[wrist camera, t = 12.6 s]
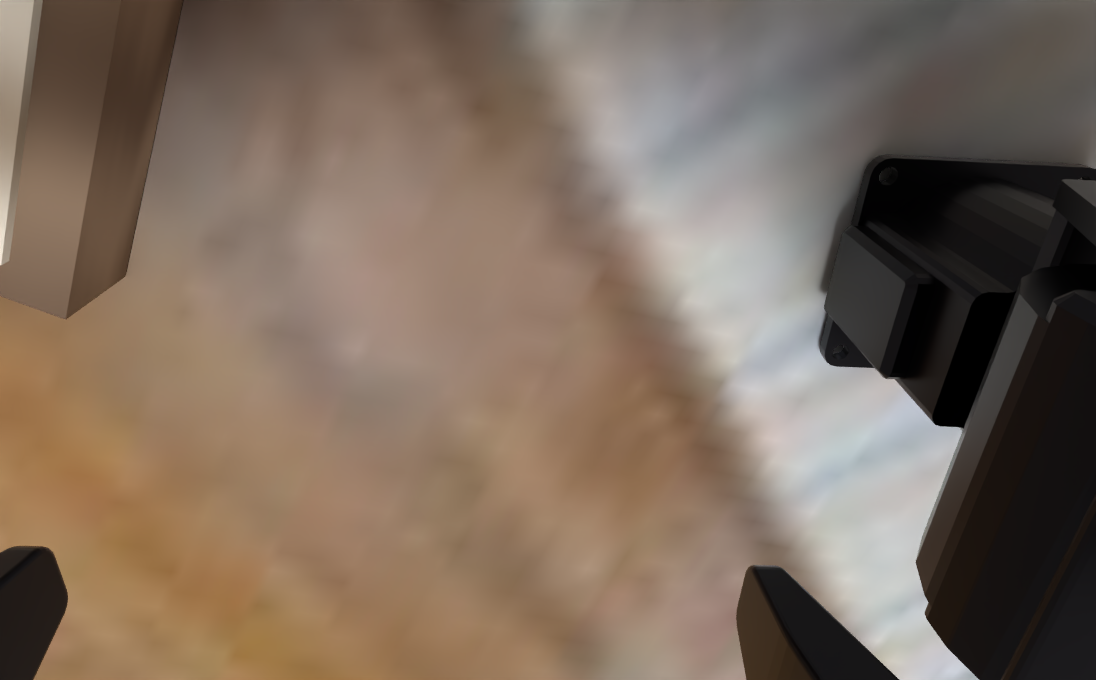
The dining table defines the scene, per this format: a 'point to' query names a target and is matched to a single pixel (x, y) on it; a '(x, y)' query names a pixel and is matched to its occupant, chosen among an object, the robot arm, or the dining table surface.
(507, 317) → the dining table surface
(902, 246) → the robot arm
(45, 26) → the walnut pocket board
